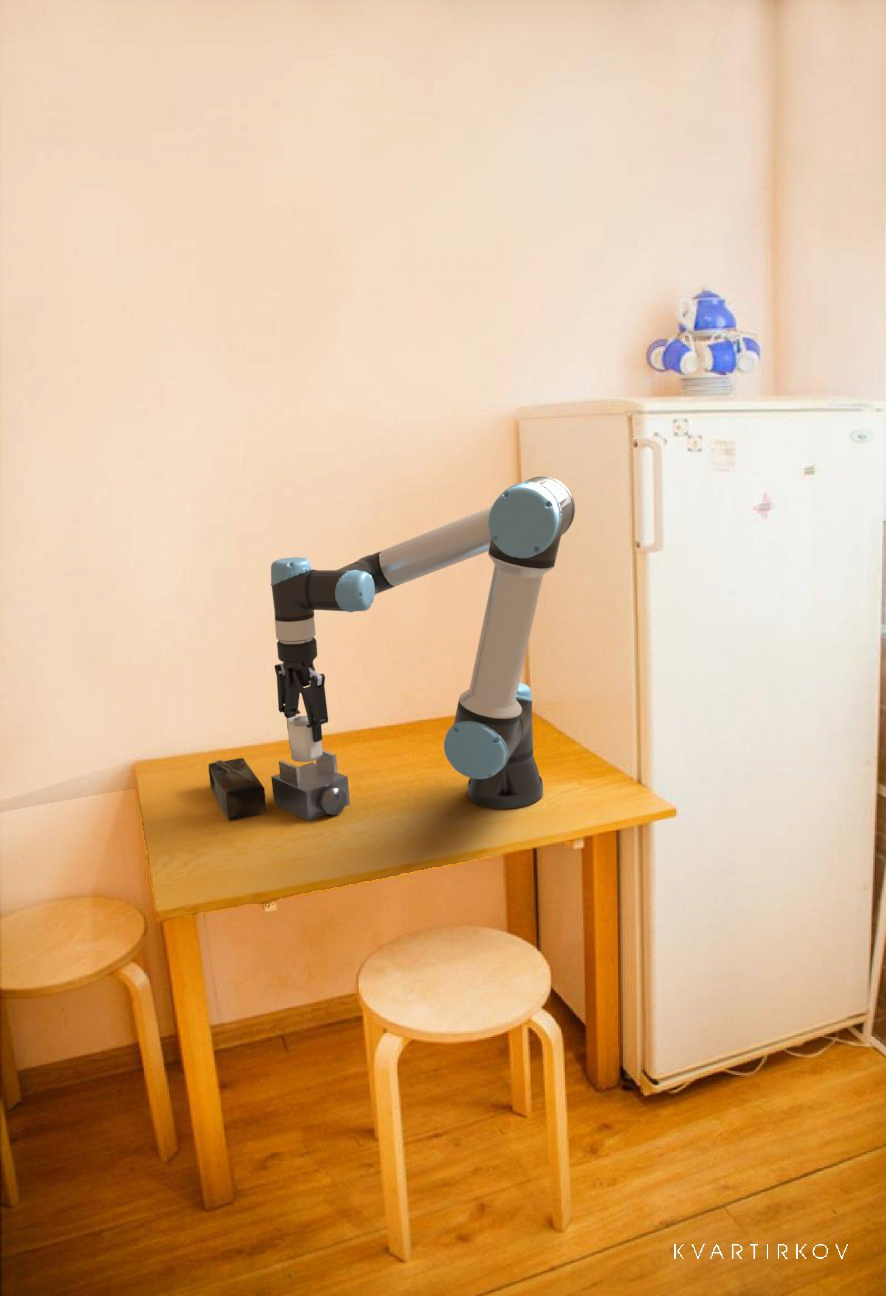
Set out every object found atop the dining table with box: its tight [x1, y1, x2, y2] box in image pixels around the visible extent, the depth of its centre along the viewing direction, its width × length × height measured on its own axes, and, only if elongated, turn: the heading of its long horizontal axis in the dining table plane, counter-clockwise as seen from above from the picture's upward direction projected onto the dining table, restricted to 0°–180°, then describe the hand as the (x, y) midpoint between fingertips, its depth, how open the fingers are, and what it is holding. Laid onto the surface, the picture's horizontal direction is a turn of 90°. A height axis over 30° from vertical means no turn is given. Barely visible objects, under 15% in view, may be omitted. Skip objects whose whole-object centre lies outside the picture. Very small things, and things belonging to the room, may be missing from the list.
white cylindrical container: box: [289, 715, 322, 763], centre depth 194 cm, size 6×6×8 cm
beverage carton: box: [208, 757, 267, 822], centre depth 201 cm, size 8×19×7 cm, turn 23°
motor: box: [270, 748, 351, 822], centre depth 196 cm, size 14×10×10 cm
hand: (306, 751), depth 195 cm, fingers closed on white cylindrical container, 6 cm apart
